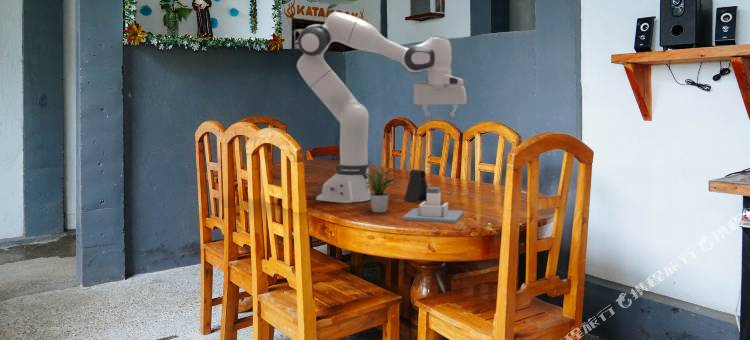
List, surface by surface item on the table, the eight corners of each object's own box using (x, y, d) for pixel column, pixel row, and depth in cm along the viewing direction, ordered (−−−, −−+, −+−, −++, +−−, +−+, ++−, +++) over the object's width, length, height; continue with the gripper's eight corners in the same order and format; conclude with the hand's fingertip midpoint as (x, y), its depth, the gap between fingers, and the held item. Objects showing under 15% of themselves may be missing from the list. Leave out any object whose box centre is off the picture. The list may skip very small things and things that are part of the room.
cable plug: (426, 214, 193) (426, 188, 192) (429, 212, 197) (429, 186, 196) (438, 215, 192) (438, 189, 191) (440, 212, 196) (440, 187, 194)
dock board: (402, 219, 190) (402, 206, 190) (413, 211, 204) (413, 198, 204) (455, 222, 185) (455, 209, 184) (463, 213, 199) (463, 201, 198)
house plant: (379, 217, 194) (378, 170, 192) (350, 212, 203) (349, 167, 201) (405, 211, 204) (405, 166, 202) (377, 206, 214) (377, 163, 212)
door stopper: (413, 202, 221) (413, 172, 219) (404, 200, 226) (404, 170, 224) (431, 199, 226) (431, 170, 224) (421, 197, 231) (421, 168, 229)
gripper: (411, 80, 216) (411, 116, 218) (464, 79, 210) (464, 116, 212) (415, 80, 222) (415, 116, 224) (467, 79, 216) (467, 116, 217)
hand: (439, 116), depth 218 cm, fingers open, 8 cm apart
